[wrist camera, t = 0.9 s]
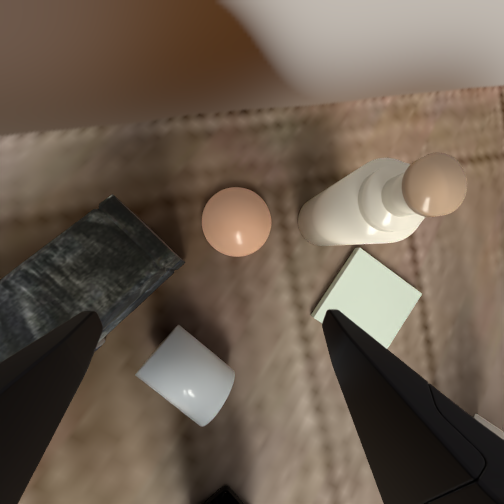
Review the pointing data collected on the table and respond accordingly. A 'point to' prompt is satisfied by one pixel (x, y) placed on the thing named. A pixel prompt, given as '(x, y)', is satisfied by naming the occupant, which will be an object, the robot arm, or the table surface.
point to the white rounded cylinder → (188, 376)
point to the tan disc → (236, 221)
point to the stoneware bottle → (383, 201)
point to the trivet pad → (369, 297)
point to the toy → (84, 276)
